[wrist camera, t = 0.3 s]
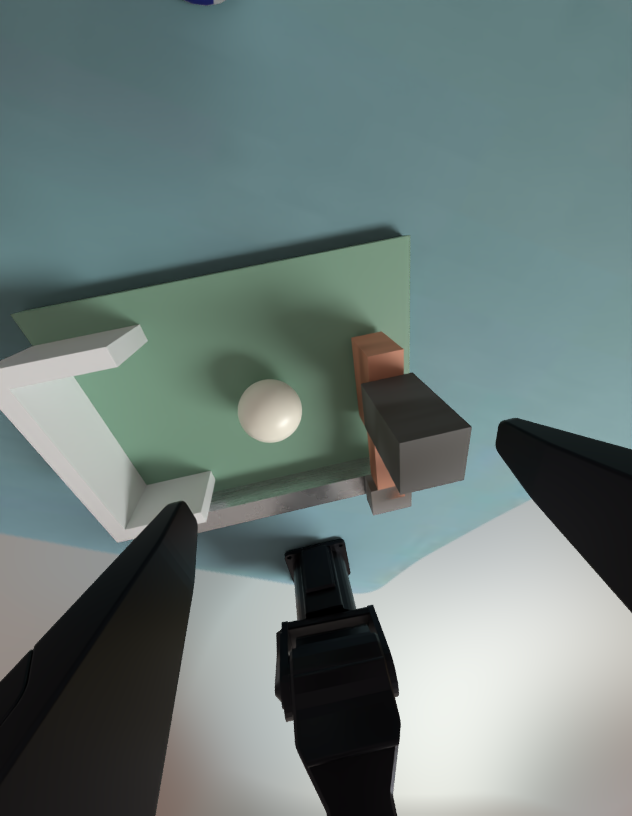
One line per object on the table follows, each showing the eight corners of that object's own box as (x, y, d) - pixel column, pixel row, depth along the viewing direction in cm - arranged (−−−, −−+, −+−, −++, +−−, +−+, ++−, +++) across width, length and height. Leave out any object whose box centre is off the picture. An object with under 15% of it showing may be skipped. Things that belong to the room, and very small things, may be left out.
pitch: (404, 461, 26) (408, 469, 26) (164, 516, 25) (161, 526, 25) (403, 235, 17) (410, 235, 16) (23, 310, 16) (10, 314, 15)
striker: (393, 473, 25) (449, 577, 17) (360, 481, 25) (401, 589, 17) (389, 329, 18) (476, 394, 11) (343, 339, 18) (398, 411, 11)
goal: (215, 479, 23) (206, 521, 19) (139, 496, 23) (117, 542, 19) (139, 324, 16) (106, 346, 13) (32, 346, 16) (-31, 374, 13)
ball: (303, 413, 21) (310, 447, 18) (249, 425, 21) (246, 462, 17) (292, 363, 19) (298, 390, 16) (232, 376, 19) (224, 406, 15)
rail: (403, 466, 25) (413, 482, 24) (164, 521, 24) (156, 542, 23) (402, 448, 24) (413, 464, 22) (153, 505, 23) (144, 526, 22)
